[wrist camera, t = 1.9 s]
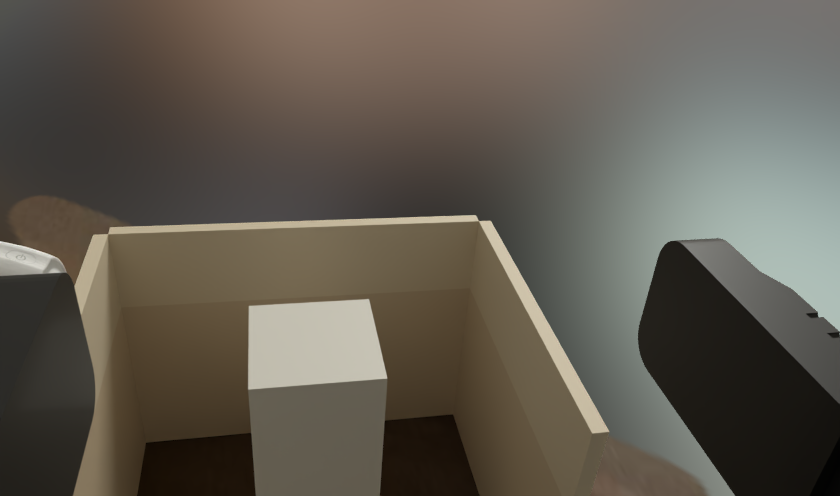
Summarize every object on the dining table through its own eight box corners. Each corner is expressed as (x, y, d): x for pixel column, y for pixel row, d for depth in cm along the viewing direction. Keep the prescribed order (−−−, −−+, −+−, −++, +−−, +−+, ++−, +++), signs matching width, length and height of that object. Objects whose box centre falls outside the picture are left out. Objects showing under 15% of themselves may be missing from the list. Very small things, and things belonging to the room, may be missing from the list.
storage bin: (78, 746, 26) (-8, 512, 19) (135, 435, 38) (95, 227, 32) (548, 665, 30) (617, 445, 23) (460, 406, 42) (487, 214, 35)
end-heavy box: (262, 591, 31) (247, 389, 25) (261, 499, 36) (248, 306, 29) (374, 576, 32) (387, 378, 26) (360, 488, 37) (368, 299, 30)
